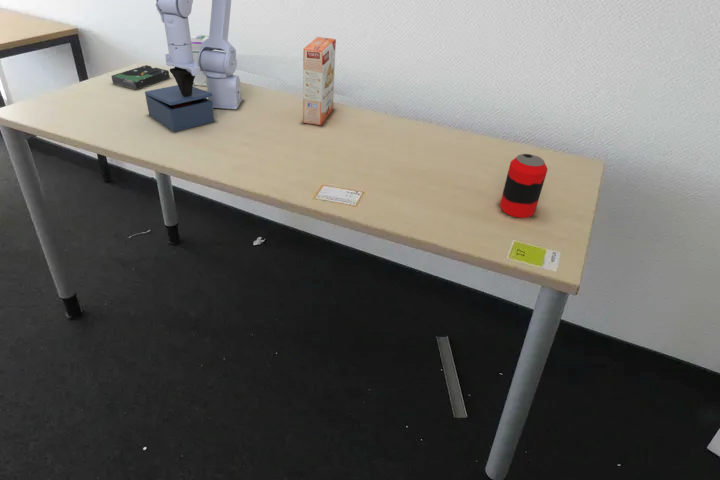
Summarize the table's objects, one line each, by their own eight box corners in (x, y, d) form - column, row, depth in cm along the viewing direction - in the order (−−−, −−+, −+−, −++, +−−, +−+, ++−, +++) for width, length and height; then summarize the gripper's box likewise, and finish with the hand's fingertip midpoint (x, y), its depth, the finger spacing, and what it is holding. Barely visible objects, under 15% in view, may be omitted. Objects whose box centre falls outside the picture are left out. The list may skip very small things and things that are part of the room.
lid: (212, 96, 138) (212, 93, 137) (170, 105, 131) (170, 102, 130) (185, 86, 147) (185, 83, 147) (145, 94, 140) (144, 91, 140)
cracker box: (322, 126, 144) (323, 50, 132) (302, 123, 145) (301, 47, 133) (334, 109, 155) (336, 38, 143) (315, 107, 156) (316, 35, 144)
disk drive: (147, 73, 174) (112, 84, 163) (145, 64, 173) (110, 75, 161) (170, 78, 171) (136, 90, 159) (169, 70, 169) (134, 81, 158)
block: (198, 120, 141) (196, 105, 138) (183, 124, 138) (181, 108, 136) (190, 115, 143) (188, 100, 141) (175, 119, 141) (173, 103, 138)
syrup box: (211, 86, 166) (206, 40, 158) (193, 85, 166) (187, 39, 158) (215, 80, 171) (211, 35, 163) (198, 79, 171) (192, 34, 163)
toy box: (214, 121, 143) (212, 101, 139) (173, 132, 135) (170, 110, 132) (188, 106, 151) (185, 86, 147) (149, 115, 144) (145, 94, 140)
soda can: (528, 201, 115) (542, 152, 109) (539, 219, 109) (554, 169, 102) (495, 200, 115) (507, 151, 108) (504, 218, 109) (517, 167, 102)
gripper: (150, 38, 129) (160, 91, 137) (178, 51, 121) (186, 106, 129) (176, 34, 134) (184, 86, 141) (205, 47, 125) (211, 101, 133)
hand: (186, 95), depth 135 cm, fingers closed
